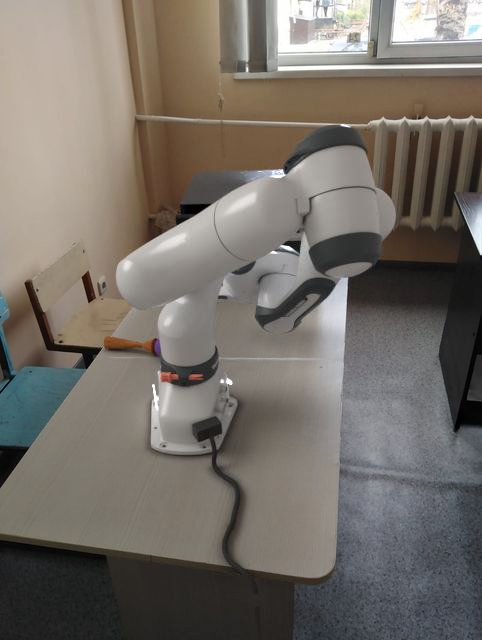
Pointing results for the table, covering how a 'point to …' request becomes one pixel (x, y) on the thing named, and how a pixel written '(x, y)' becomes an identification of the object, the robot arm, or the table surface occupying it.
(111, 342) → the kendama
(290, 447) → the table surface
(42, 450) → the table surface
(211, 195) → the oven
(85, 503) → the table surface
